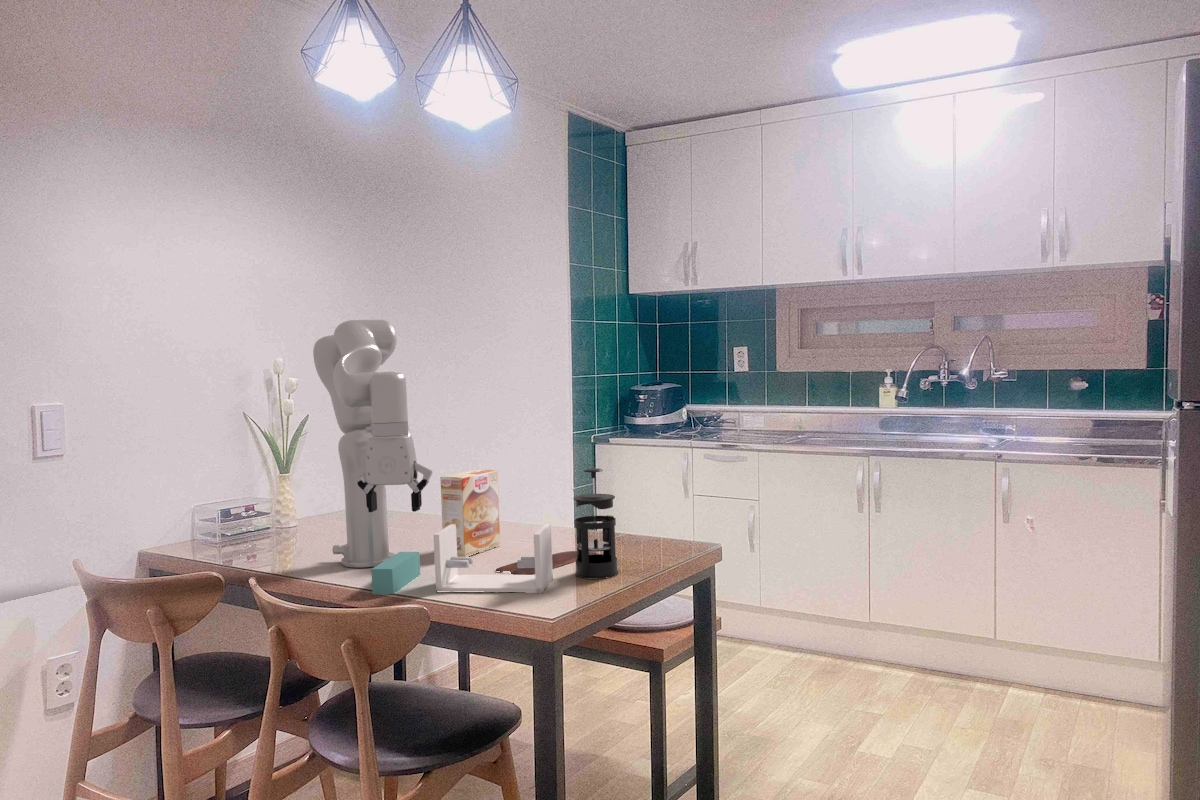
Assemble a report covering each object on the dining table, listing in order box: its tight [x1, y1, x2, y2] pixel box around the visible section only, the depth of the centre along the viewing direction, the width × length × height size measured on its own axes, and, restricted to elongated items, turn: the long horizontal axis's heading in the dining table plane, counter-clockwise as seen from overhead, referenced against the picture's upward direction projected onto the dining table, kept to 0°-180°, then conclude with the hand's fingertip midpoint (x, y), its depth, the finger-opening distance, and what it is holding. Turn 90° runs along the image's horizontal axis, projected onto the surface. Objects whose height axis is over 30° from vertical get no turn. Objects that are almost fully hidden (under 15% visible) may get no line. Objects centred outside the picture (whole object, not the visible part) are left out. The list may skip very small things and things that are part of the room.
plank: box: [370, 551, 421, 595], centre depth 193 cm, size 16×4×6 cm, turn 172°
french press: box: [573, 467, 619, 579], centre depth 196 cm, size 12×9×23 cm
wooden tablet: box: [495, 550, 597, 575], centre depth 208 cm, size 26×2×10 cm
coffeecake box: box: [439, 468, 501, 557], centre depth 223 cm, size 15×7×20 cm, turn 151°
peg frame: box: [433, 523, 554, 594], centre depth 188 cm, size 22×11×12 cm, turn 81°
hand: (394, 510), depth 192 cm, fingers open, 9 cm apart
